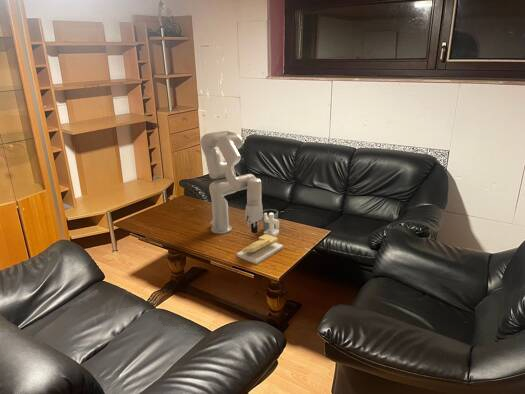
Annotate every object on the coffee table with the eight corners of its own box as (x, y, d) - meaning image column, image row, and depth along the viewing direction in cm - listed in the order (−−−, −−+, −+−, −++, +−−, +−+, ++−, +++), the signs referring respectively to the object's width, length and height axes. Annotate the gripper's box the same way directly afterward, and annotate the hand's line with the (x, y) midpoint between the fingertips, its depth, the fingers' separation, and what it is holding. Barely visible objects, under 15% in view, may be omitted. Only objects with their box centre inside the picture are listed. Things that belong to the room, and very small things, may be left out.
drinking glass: (276, 234, 235) (276, 215, 231) (260, 232, 237) (259, 214, 232) (279, 227, 244) (279, 209, 240) (263, 226, 246) (263, 208, 242)
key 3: (242, 252, 208) (241, 249, 208) (250, 248, 212) (249, 245, 212) (254, 251, 201) (253, 248, 201) (262, 247, 206) (260, 243, 206)
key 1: (258, 240, 218) (258, 237, 217) (265, 236, 222) (265, 233, 221) (271, 244, 212) (271, 241, 211) (278, 240, 216) (278, 237, 216)
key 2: (251, 247, 213) (250, 244, 212) (258, 243, 217) (257, 240, 217) (263, 247, 207) (262, 243, 206) (270, 242, 211) (269, 239, 211)
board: (236, 256, 209) (236, 249, 208) (264, 241, 226) (264, 235, 225) (256, 264, 201) (256, 257, 200) (283, 247, 217) (283, 241, 216)
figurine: (276, 240, 226) (275, 216, 221) (261, 237, 230) (261, 214, 225) (281, 236, 232) (281, 212, 227) (267, 233, 236) (267, 210, 231)
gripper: (258, 195, 214) (258, 226, 220) (239, 203, 203) (239, 235, 210) (268, 199, 209) (268, 230, 216) (250, 207, 198) (250, 239, 205)
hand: (254, 232), depth 213 cm, fingers closed
